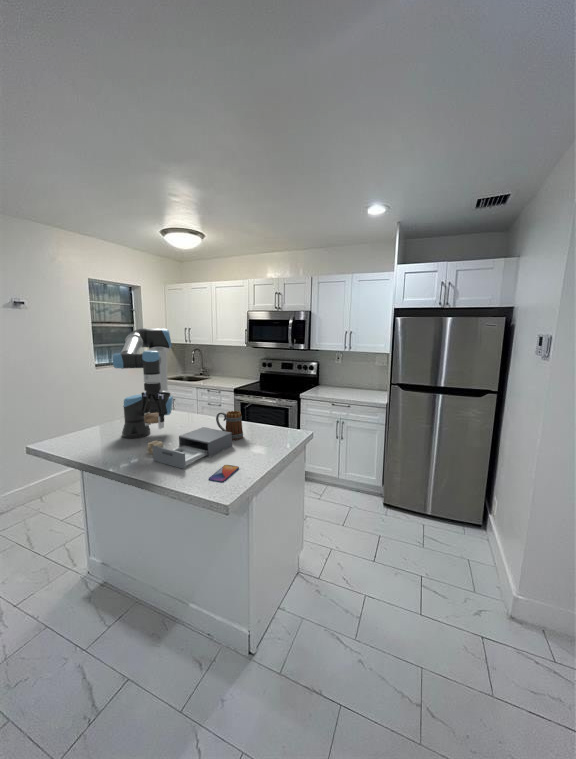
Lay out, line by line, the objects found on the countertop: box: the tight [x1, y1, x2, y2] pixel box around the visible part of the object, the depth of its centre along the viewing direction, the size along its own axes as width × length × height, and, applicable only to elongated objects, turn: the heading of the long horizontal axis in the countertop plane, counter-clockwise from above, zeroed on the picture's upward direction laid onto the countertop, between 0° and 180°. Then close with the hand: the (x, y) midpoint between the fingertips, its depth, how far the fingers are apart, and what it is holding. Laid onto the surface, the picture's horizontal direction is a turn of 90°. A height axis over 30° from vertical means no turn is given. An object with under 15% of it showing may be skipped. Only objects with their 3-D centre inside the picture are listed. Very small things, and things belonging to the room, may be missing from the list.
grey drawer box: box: [178, 426, 233, 458], centre depth 167 cm, size 18×20×8 cm
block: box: [147, 440, 164, 455], centre depth 160 cm, size 5×5×5 cm
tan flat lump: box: [144, 413, 159, 424], centre depth 158 cm, size 9×9×3 cm
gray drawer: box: [152, 445, 208, 470], centre depth 152 cm, size 17×20×7 cm
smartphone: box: [208, 464, 240, 483], centre depth 137 cm, size 7×15×1 cm, turn 162°
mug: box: [215, 410, 244, 441], centre depth 184 cm, size 16×11×15 cm
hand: (154, 426), depth 159 cm, fingers closed on tan flat lump, 9 cm apart
